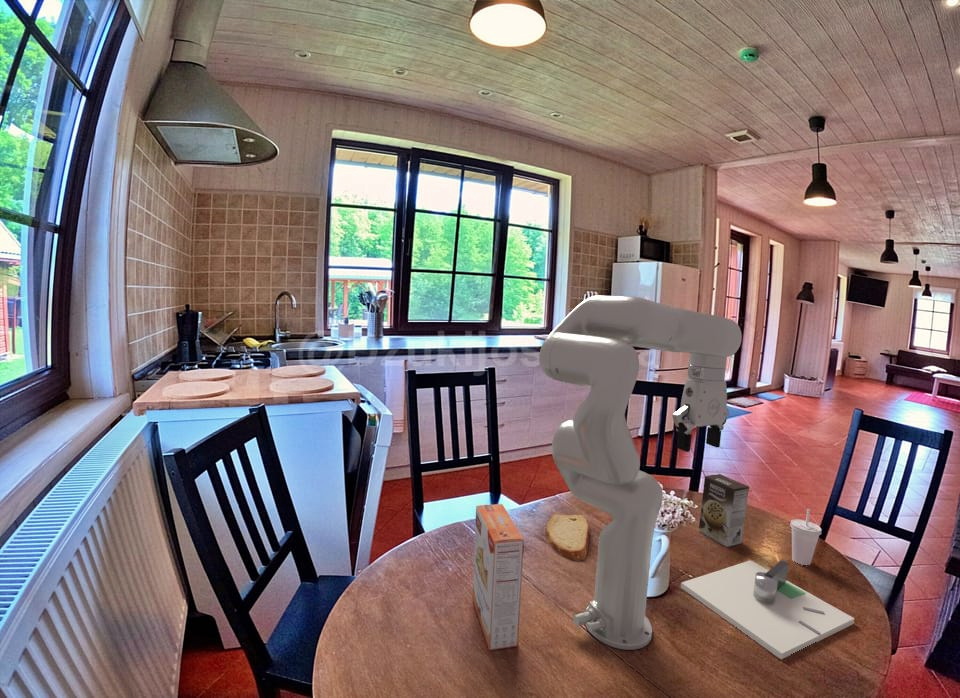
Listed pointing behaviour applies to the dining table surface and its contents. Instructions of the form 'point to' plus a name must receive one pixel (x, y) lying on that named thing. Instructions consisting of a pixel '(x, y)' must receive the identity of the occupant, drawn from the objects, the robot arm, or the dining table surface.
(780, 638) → the white flat board
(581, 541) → the slice of bread
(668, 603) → the dining table surface
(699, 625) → the dining table surface
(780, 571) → the tuning lever
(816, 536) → the smoothie
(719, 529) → the cookie box
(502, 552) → the cracker box
